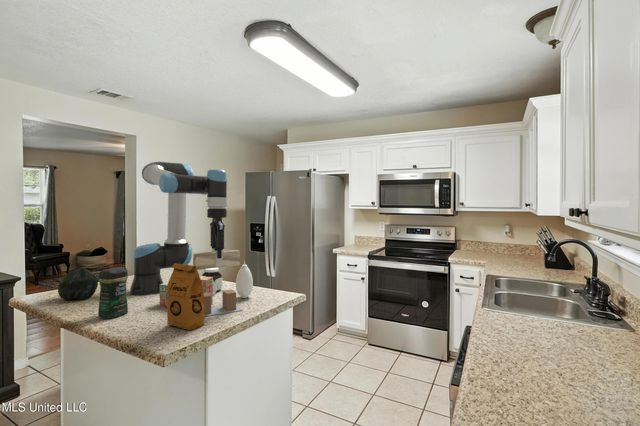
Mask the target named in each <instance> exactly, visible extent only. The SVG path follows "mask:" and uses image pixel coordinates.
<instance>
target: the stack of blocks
mask: <svg viewBox="0 0 640 426" xmlns="http://www.w3.org/2000/svg"><path fill="white" fill-rule="evenodd" d="M199 276H200V279H201V282H202V285H203V293H207V292H208V293H209V294H210V295H211V306H212V305H213V296H214V294H213V277H206V276H202V275H199ZM168 282H169V281H166V282H163V284H160V285H159V289H160V292H159V306H160V307H167V285H168Z"/></svg>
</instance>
